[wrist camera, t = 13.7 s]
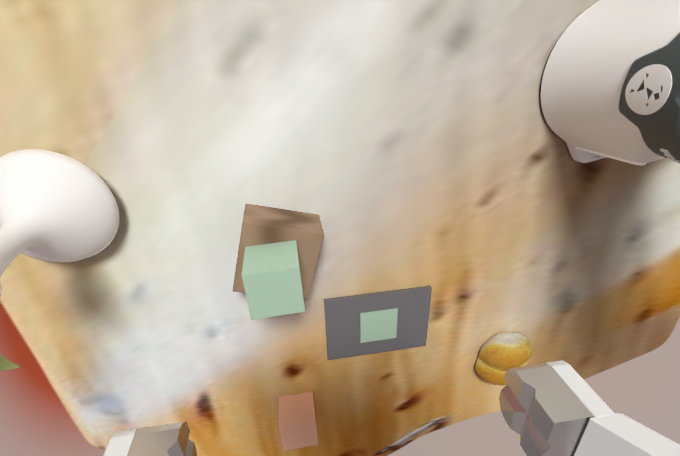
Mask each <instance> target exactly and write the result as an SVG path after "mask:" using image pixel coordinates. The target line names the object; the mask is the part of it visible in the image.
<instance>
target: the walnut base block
mask: <svg viewBox="0 0 680 456" xmlns="http://www.w3.org/2000/svg"><path fill="white" fill-rule="evenodd" d="M323 237H324V233H323V229H322V225H321V221H320V218H319V215H316V214H310V213H303V212H297V211H290V210H284V209H277V208H271V207H264V206H258V205H251V204H246V205H245V211H244V217H243V223H242V230H241V237H240V244H239V251H238V258H237V265H236V272H235V279H234V286H233V291H234V292H244V293H245V289H244V284H243V280H242V268H243V260H244V253H245V247H247V246H255V245H263V244H270V243H278V242H286V241H293V240H296V243H297V251H298V258H299V266H300V274H301V281H302V290H303V298H306V299H308V297H309V293H310V289H311V285H312V281H313V277H314V273H315V269H316V265H317V261H318V257H319V253H320V249H321V245H322V241H323Z"/></svg>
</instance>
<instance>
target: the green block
mask: <svg viewBox="0 0 680 456" xmlns="http://www.w3.org/2000/svg"><path fill="white" fill-rule="evenodd" d="M242 280H243V284H244V289H245V293H246V298H247V302H248V307H249V311H250V316H251V320H254V319H260V318H267V317H273V316H280V315H287V314H293V313H300V312H305V306H304V298H303V290H302V281H301V274H300V266H299V258H298V251H297V243H296V240H293V241H286V242H278V243H270V244H263V245H255V246H247V247H245V253H244V260H243V268H242Z"/></svg>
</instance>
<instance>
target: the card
mask: <svg viewBox="0 0 680 456" xmlns="http://www.w3.org/2000/svg"><path fill="white" fill-rule="evenodd" d="M431 290H432V288H431V287H430V286H425V287H417V288H409V289H401V290H393V291H386V292H378V293H370V294H362V295H354V296H346V297H338V298H330V299H324V305H325V321H326V337H327V354H328V360H332V359H339V358H346V357H352V356H359V355H366V354H373V353H379V352H386V351H393V350H400V349H406V348H413V347H420V346H426V338H427V328H428V319H429V309H430V299H431Z"/></svg>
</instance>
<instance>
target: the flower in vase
mask: <svg viewBox="0 0 680 456" xmlns="http://www.w3.org/2000/svg"><path fill="white" fill-rule="evenodd" d="M118 227H119V210H118V206H117V203H116V200H115V198H114V196H113V194H112V192H111V191H110V189H109V188H108V186H107V185H106V184H105V182H104V181H103V180H102V179H101V178H100V177H99V176H98V175H97V174H96V173H95V172H93V171H92V170H91V169H90V168H88V167H87V166H85V165H84V164H82V163H80V162H79V161H77V160H75V159H73V158H71V157H68V156H65V155H63V154H60V153H56V152H52V151H47V150H40V149H25V150H18V151H13V152H10V153H7V154H4V155H3V156H1V157H0V278H1V275H2V274H3V272H4V270H5V269H6V268H7V266H8V265H9V264H10V263H11V262H12V261H13V260H14V259H15V258H16V257H17V256H18V255H19V254H20V253H22V254H24V255H27V256H29V257H32V258H35V259H39V260H43V261H48V262H74V261H79V260H82V259H85V258H88V257H91V256H94V255H96V254H98V253H99V252H101V251H102V250H104V249H105V248H106V247H107V246H108V245H109V244H110V243H111V242H112V240H113V239H114V237H115V235H116V233H117V230H118ZM0 296H1V284H0ZM19 367H20V366H18V365H16V364H14V363H12V362H11V361H9V360H7V359H6V358H5V357H3V356H2V355H1V354H0V370H11V369H15V368H19Z"/></svg>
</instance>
